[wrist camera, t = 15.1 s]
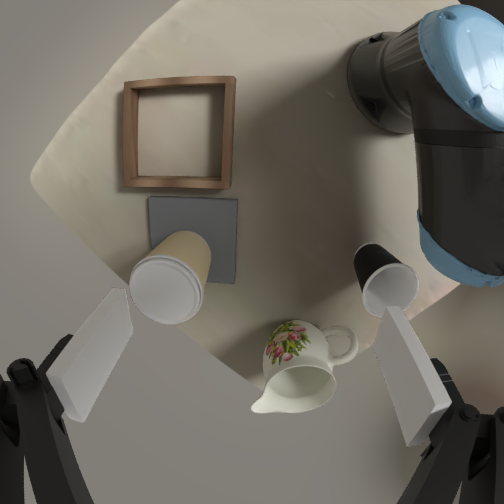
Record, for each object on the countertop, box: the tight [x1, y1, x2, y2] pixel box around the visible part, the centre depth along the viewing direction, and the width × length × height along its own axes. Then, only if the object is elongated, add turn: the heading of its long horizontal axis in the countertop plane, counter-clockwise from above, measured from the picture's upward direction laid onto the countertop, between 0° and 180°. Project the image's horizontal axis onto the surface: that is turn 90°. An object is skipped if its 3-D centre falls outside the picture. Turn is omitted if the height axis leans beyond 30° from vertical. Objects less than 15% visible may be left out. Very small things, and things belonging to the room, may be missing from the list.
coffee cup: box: [129, 230, 211, 325], centre depth 41 cm, size 9×9×12 cm
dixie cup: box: [354, 243, 419, 318], centre depth 41 cm, size 8×8×11 cm
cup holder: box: [123, 76, 236, 189], centre depth 39 cm, size 15×15×3 cm
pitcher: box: [250, 320, 359, 413], centre depth 46 cm, size 11×18×14 cm, turn 121°
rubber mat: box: [149, 196, 238, 284], centre depth 46 cm, size 13×13×1 cm
